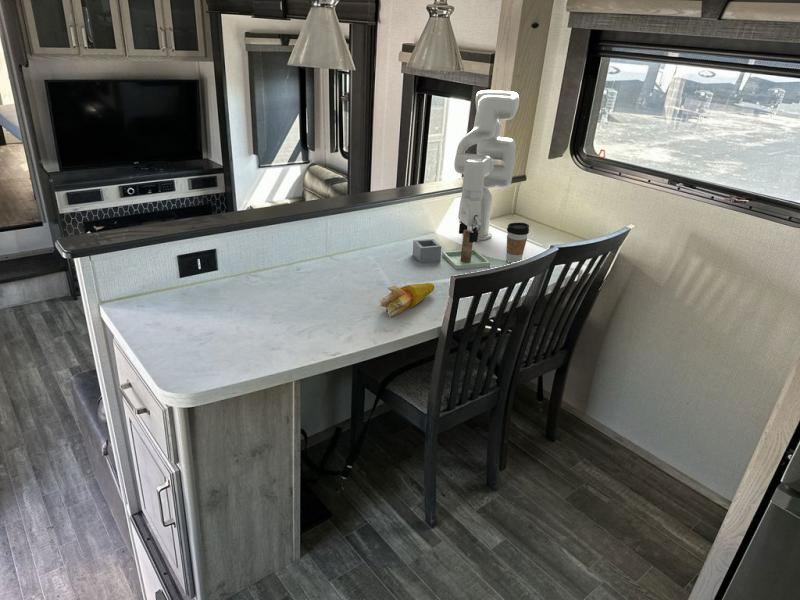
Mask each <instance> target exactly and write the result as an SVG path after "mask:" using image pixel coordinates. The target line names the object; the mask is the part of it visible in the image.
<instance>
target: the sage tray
mask: <svg viewBox="0 0 800 600" xmlns="http://www.w3.org/2000/svg"><path fill="white" fill-rule="evenodd" d="M461 250H462V249H461ZM461 250H448V251H441V257H443V258H444V259H445V260H446V261H447V263H448V264H449V265H450V266H452V268H453V269H455V270H463V269H475V268H476V269H477V268H484V267H488V268H489V269H490V268H491V262H490V260H488V259H487V258H486V257H484V256H483V255H482V254H481V253H480V252H479V251H478V250H477V249H473V248H472V255H471V262H468V263H465V262H462V261H460V259H461Z"/></svg>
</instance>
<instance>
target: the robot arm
mask: <svg viewBox="0 0 800 600" xmlns="http://www.w3.org/2000/svg"><path fill="white" fill-rule="evenodd" d="M474 101H475V109H476V112H475V113H476V114H475V117H474V124H473V128H472V130H471V131H469V132H468V133H466V134H465V135H464V136H463V137H462V138H461V140H460V142H459V143H458V145H457V148H456V152H455V158H454V162H453V164H454V167H453V168H454V170H455V172H456V173H458V174H462V175H463V177H462V178H463V179H462V189H461V190H462V191H461V197H460V202H459V209H458V216H457V217H458V220H459V221H458V223H459V227H458V234H460V235H463V233H464V230H467V229H469V230H471V232H470V236H469V242H470V243H472V242H473V243H478V241H485V240H489V239H491V238H492V235H493V234H492V232H491V231H489V228H490V220H491V213H492V205H493V203H492V202H493V195H492V192H491V191H490V189H489V188H495V189H507V188H509V187H510V186H511V184H512V180H513V174H514V168H515V167H514V165H515V158H516V153H517V152H516V150H517V149H516V148H517V147H516V146H517V145H516V142H515V140H514V139H513V138H510V137H503V136H502V137H501V136H500V134H501V133H500V132H501V122H500V120H508V121H509V120H510V121H511V120H513V119H514V117H515V115H517V111H518V109H519V106H520V97H519V94H518V93H517V92H515V91H509V90H508V91H507V90H506V91H505V90H493V89H486V90H485V89H484V90H479V91H477V92H476V95H475V100H474ZM474 145H476V153H465V152H466V151H467V150H468V149H469V148H470V147H472V146H474ZM494 161H495V162H501V163H502V164H499V163H494Z"/></svg>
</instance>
